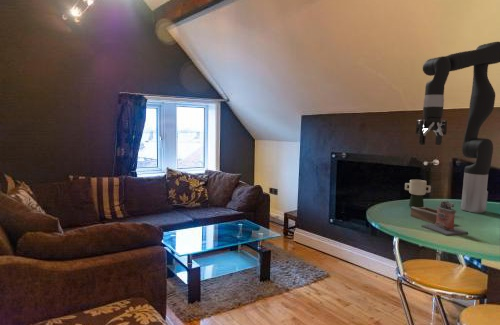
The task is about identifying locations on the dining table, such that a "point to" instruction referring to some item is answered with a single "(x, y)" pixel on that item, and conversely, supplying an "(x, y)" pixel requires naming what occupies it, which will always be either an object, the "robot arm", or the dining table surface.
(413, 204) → the character mug
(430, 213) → the holder
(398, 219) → the dining table surface
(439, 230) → the mat
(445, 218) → the lighter
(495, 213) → the dining table surface
